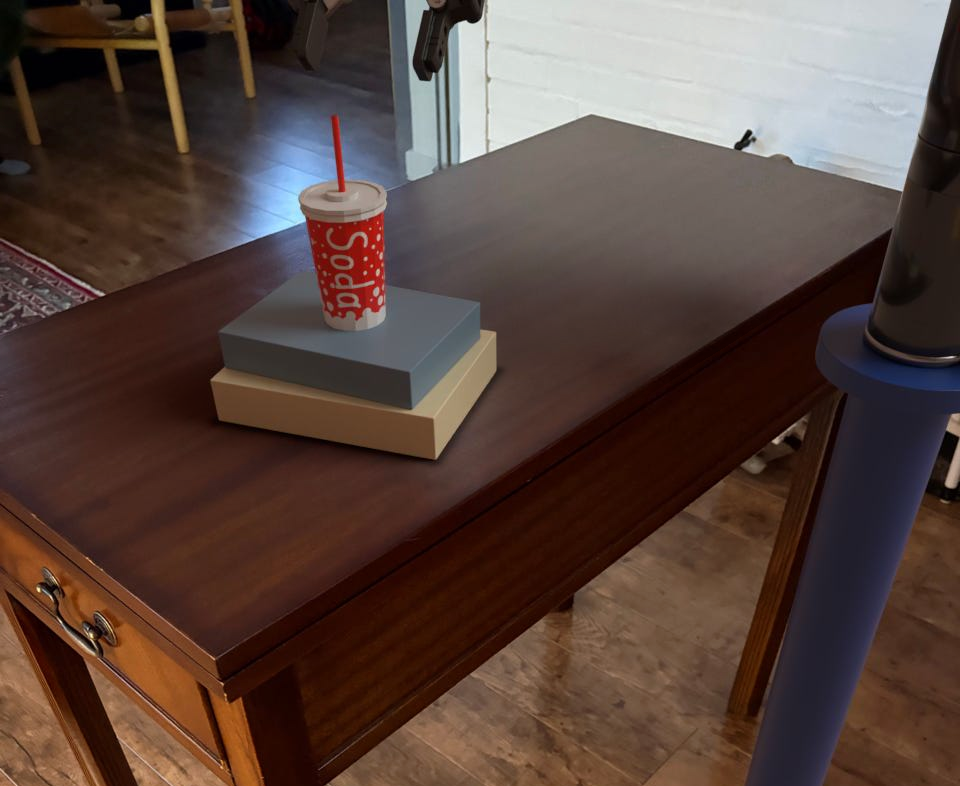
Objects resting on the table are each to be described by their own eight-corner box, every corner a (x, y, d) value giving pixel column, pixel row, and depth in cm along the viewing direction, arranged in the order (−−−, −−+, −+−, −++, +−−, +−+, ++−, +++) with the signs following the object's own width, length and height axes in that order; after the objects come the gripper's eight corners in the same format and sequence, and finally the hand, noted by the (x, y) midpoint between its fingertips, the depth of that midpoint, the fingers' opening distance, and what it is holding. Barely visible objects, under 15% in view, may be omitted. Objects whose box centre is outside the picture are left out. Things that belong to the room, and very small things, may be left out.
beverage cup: (301, 330, 74) (272, 126, 65) (332, 295, 79) (309, 99, 69) (379, 340, 73) (361, 133, 64) (406, 304, 77) (393, 105, 68)
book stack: (496, 371, 83) (496, 295, 78) (436, 460, 73) (432, 379, 69) (300, 340, 87) (289, 266, 83) (218, 420, 78) (201, 342, 73)
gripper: (298, -210, 67) (244, 28, 67) (502, -209, 63) (446, 42, 63) (340, -121, 74) (292, 94, 74) (525, -116, 71) (475, 109, 71)
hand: (363, 69), depth 69 cm, fingers open, 8 cm apart
